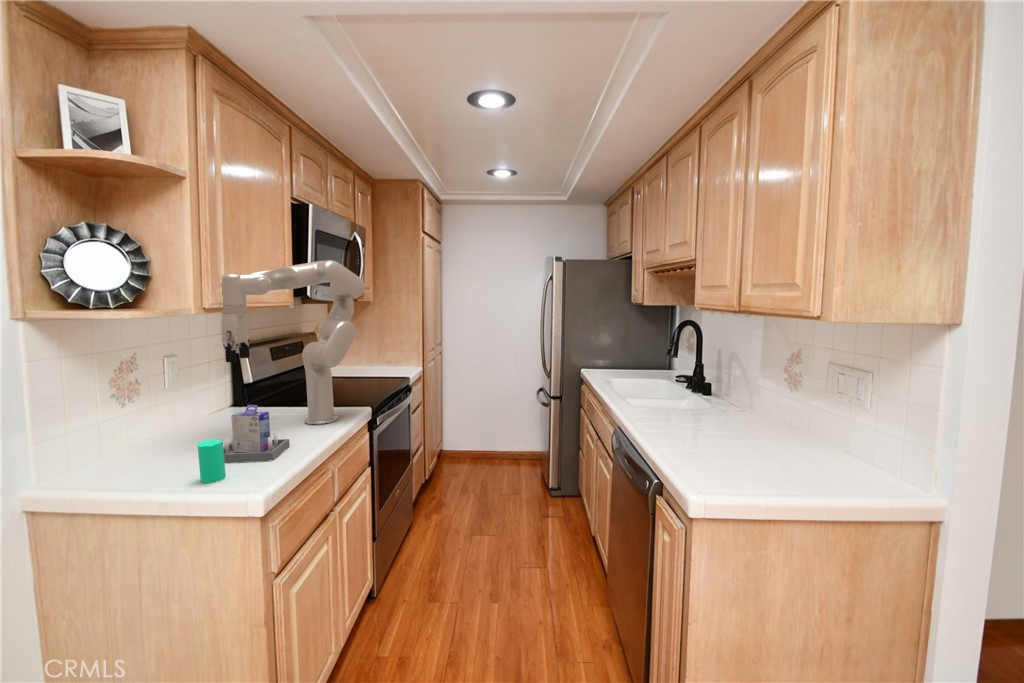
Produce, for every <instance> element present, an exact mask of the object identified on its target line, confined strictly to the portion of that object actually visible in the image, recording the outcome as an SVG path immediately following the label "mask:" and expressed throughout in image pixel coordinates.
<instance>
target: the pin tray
mask: <svg viewBox="0 0 1024 683" xmlns="http://www.w3.org/2000/svg"><path fill="white" fill-rule="evenodd" d="M272 435H273V436H270V437H268V450H266V451H264V452H254V453H246V452H233V435H232V434H230V441H231V442H230V443H229V438H224V439H223V449H224V461H225V464H230V462H238V463H244V462H243V461H261V462H270V461H269V460H274V459H275V458H276V457H277V456H278V455H279V456H281V453H282V452H283V451H284V450H285V449H286V450H287V449H288V448H290V447H289V446H291V445H290V438H279V436H278V433H277V432H274V433H273V434H272ZM278 438H279V439H278ZM286 450H285V451H286ZM285 451H284V452H285ZM284 452H283V453H284ZM283 453H282V454H283ZM279 456H278V457H279ZM278 457H277V458H278ZM277 458H276V459H277ZM276 459H275V460H276ZM275 460H274V461H275Z"/></svg>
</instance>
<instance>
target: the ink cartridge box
mask: <svg viewBox="0 0 1024 683" xmlns="http://www.w3.org/2000/svg"><path fill="white" fill-rule="evenodd" d="M258 405H259V404H247V406H246V408H245V411H239V412H236V413H234V414H232V415H231V416H230V417H231V430H232V431H231V433H232V434H231V435H233V452H246V453H254V452H264V451H266V450H268V437H271V427H270V424H271V423H270V411H257V410H258ZM250 408H254V409H250Z"/></svg>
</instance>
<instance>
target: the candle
mask: <svg viewBox="0 0 1024 683" xmlns="http://www.w3.org/2000/svg"><path fill="white" fill-rule="evenodd" d="M223 447H224V440H220V439H211V438H208V439H206V440H203V441H201V442H198V444H197V454H198V455H197V456H198V464H199V465H198V466H199V477H200V482H201V483H202V482H203V483H202V484H212V483H211V482H214V483H217V482H216V481H218V482H221V481H222V479H223V480H224V478H225V479H226V476H227V475H226V463H225V461H224V449H223ZM220 480H221V481H220Z"/></svg>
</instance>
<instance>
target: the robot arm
mask: <svg viewBox="0 0 1024 683" xmlns="http://www.w3.org/2000/svg"><path fill="white" fill-rule="evenodd" d="M223 274H224V275H223ZM223 274H222V275H223V277H222V295H223V312H222V311H221V315H222V317H221V329H220V330H221V343H222V346H223V347H224V348H223V349H224V353H225V354H224V355H225V362H226V363H236V362H237V350H236V349H235V348H236V346H237V345H239V346H238V353H239V356H238V357H239V359H249V358H250V355H251V354H250V333H249V326H248V320H247V315H248V307H247V296H262V295H267V293H269V292H270V291H277V290H279V291H280V290H293V289H300V288H304V287H309V286H310V287H311V286H315V285H318V284H319V285H320V284H323V283H324V284H325V283H329V284H330V286H329V290H330V293H331V295H332V301H333V303H332V304H333V305H332V307H331V309H330V311H329V312H328V314H327V316H326V318H325V319H324V321H323V323H322V324H321V325H320V328H319V331H318V336H319V337H320V339H321V340H322V341H313V342H312V341H311V342H309V343H307V344H306V345H305V346H304V348H303V350H302V357H301V358H302V362H303V366H304V370H305V380H306V381H305V382H306V397H307V398H306V399H307V400H306V401H307V414H308V416H307V417H306V418H304V420H303V421H304V424H306V423H307V424H306V425H311V424H318V425H325V423H327V424H330V423H331V424H332V423H334V422H336V421H338V419H339V415H337V414H335V412H334V393H333V392H334V390H333V376H332V371H331V369H332V368H335V367H337V366H339V364H340V363H341V362H342V361H344V359H345V356H346V354H347V352H348V351H349V349H350V347H351V346H352V344H353V342H354V340H355V338H356V334H357V333H356V332H357V330H356V327H355V325H354V323H352V322H351V319H352V318H353V315H354V313H355V308H354V307H355V306H354V305H355V304H354V302H353V299H357V298H359V297H361V296H362V295H363V294H364V293H365V290H366V286H365V282H364V281H363V280H362V278H361V277H360V276H358V275H357V274H356V273H354V272H353V271H351V270H349V269H348V268H347V267H346V266H344V264H343V265H342V264H341V263H340V262H338V261H335V260H332V259H329V260H318V261H317V260H316V261H313V262H312V261H311V262H307V263H300V264H294V265H293V264H292V265H288V266H282V267H279V268H275V269H269V270H268V269H267V270H263V271H256V272H250V273H245V274H241V273H240V274H238V273H226V274H225V273H223Z"/></svg>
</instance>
